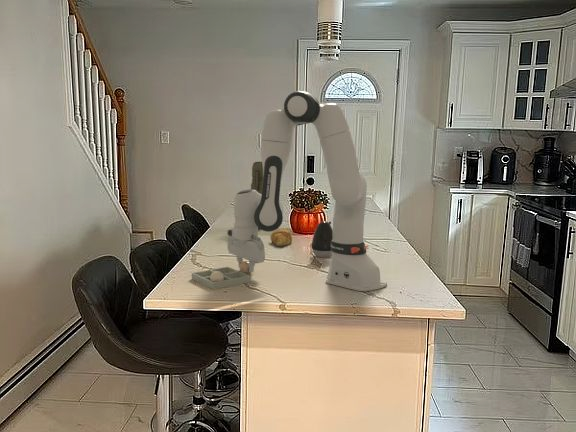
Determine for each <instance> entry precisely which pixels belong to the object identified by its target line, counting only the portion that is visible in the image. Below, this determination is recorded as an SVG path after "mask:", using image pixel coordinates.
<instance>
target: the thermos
mask: <svg viewBox="0 0 576 432" xmlns="http://www.w3.org/2000/svg"><path fill="white" fill-rule="evenodd" d="M251 177H252V179H251V184H250V189H253V190H256V191H257V192H258V193H260V194H262V186H263V165H262V161H255V162H253V164H252V166H251Z"/></svg>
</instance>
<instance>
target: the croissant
mask: <svg viewBox="0 0 576 432" xmlns="http://www.w3.org/2000/svg"><path fill="white" fill-rule="evenodd" d="M269 238H270V241H271V242H272V243H273V244H274V245H275V246H277V247H284V246H289V245H290V244H292V242H293V237H292V233H291V232H290V230H288V229H286V228H278V229H276V230H274V231H272V233H271V234H270V236H269Z"/></svg>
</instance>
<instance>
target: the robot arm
mask: <svg viewBox="0 0 576 432" xmlns="http://www.w3.org/2000/svg"><path fill="white" fill-rule="evenodd" d="M347 121H348V120H347V118H346V116H345V114H344V111H343V110H342V108H341V106H340V105H339V104H338V103H335V102H334V103H333V102H329V103H328V102H327V103H325V104H321V103H320V102H319V100H318V99H317V98H316V97H315V95H313V94H312V93H310V92H307V91H302V90H296V91H292V92H291V93H289V94H288V96H286V98H285V100H284V104H283V108H282V109H273V110H270V111H269V112H267V113H266V115H265V118H264V121H263V126H262V131H261V138H260V156H261V162H262V165H263V186H262V194H260V193H258V192H257V191H256V190H253V189H251V188H250V189H244V190H241V191H238V192H237V193H236V194H235V196H234V204H233V216H234V223H233V228H229V229H227V230H226V235H227V250H228V254H231V255H232V256H236V261H237V263H238V268H239V269H240V264H241V263H242V262H244V260H246V261H248V262H249V263H250V264H249V267H248V271H249V272H250V273H252V272H254V271H255V268H254V267H255V266H256V264H261V263H264V262H265V260H266V253H265V252H266V251H265V245H264V243H263V239H261V237H259V230H261V231H263V232H269V233H270V232H274V231H276V230H279V229H280V228H281V225H282V224H283V220H284V216H283V215H284V208H283V205H282V203H281V202H280V195H281V194H280V193H281V187H282V186H281V183H282V177H283V174H284V171H285V169H286V166H287V164H288V161H289V159H290V155H291V152H292V151H291V150H292V144H293V135H294V134H293V133H294V130H295V128H296V126H302V125H307V124H310V123H311V124H312V125H313V126H314V127H315V129H316V132H317V135H318V136H317V137H318V140H319V143H320V146H321V150H322V154H323V157H324V160H325V161H324V162H325V165H326V172H327V176H328V177H327V178H328V183H329V188H330V192H331V196H332V198H333V199H334V211H333V217H332V230H333V237H332V241H331V251H332V255H331V256H330V259H329V264H328V265H329V266H328V273H327V275H326V281H325V283H327V284H328V285H329V284H330V285H333V286H338V287H342V288H345V289H350V290H352V291H357V292H368V291H369V292H370V291H375V290H380V289H382V288H384V287H387V285H388V282H387V281H385V280H383V279H381V271H380V268H379V266H378V265H377V263H376V262H374V260H373V259H372V257H370V256H369V255H368V253H367V250H369V247H370V245H366V244H365V241H364V233H365V232H364V225H365V214H366V213H365V211H366V204H367V202H366V201H367V200H366V199H367V191H368V190H367V188H368V185H367V180H366V178H365V176H364V175H363V174H362V173H360V169H359V165H358V158H357V152H356V148H355V145H354V141H353V137H352V133H351V130H350V127H349V124H348V122H347ZM243 259H244V260H243Z"/></svg>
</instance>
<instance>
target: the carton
mask: <svg viewBox="0 0 576 432" xmlns="http://www.w3.org/2000/svg"><path fill="white" fill-rule="evenodd" d="M214 271H220V272H221V273H223V275H224V281H218V282H212V281H210V275H211V274H212V273H213V272H214ZM191 280H193V281H194V282H197V283H198V284H200V285H202V286H205V287H207V288H209V289H211V290H216V289H217V290H218V289H222V288H228V287H233V286H239V285H242V284H248V283H251V275H249V274H248V273H242V272H241V271H240V270H237V269H234V268H232V267H229V266H225V267H220V268H219V267H218V268H212V269H207V270H202V271H196V272H191Z"/></svg>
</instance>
